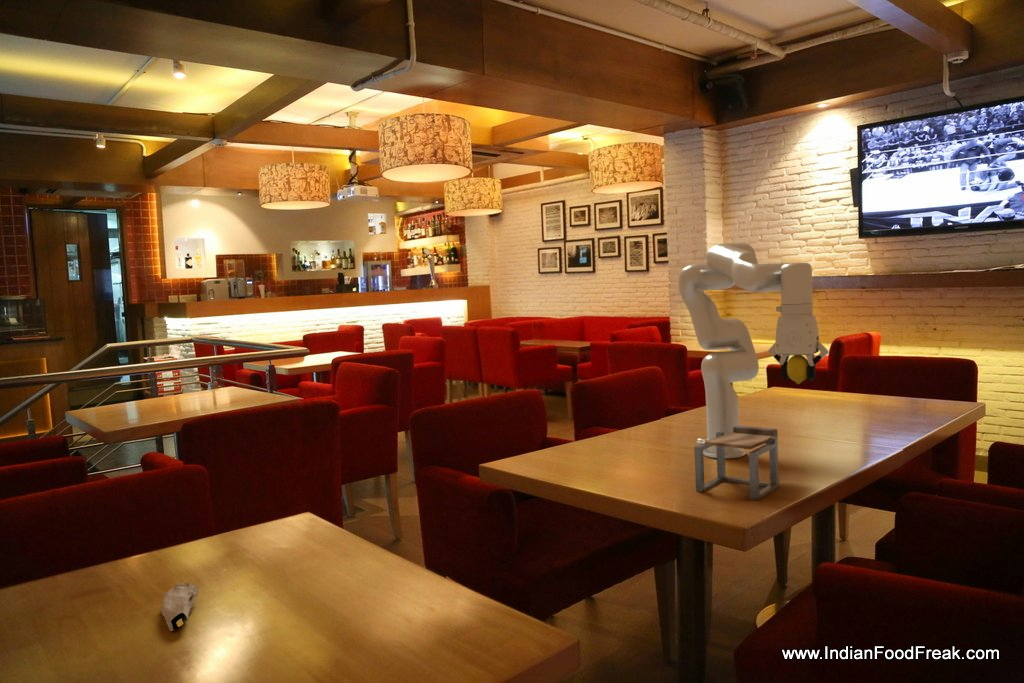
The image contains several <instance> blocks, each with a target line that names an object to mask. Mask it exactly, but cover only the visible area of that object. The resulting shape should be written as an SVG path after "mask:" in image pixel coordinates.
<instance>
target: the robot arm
mask: <svg viewBox="0 0 1024 683" xmlns="http://www.w3.org/2000/svg"><path fill="white" fill-rule="evenodd" d="M705 261H706V263H704V262H703V263H694V264H689V265H687V266H685V267H684V268H682V269H681V271H680V272H679V276H678V290H679V294H680V296H681V297H680V298H681V299H682V301H683V303H684V304H685V305H684V306H686V308H687V311H688V313H689V315H690V320H691V324H692V327H693V330H694V332H695V335H696V339H697V342H698V344H699V346H700V348H702V349H703V350H705V351H717V352H711V353H710V354H707V355H705V357H703V359H702V361H701V364H700V365H701V366H700V369H701V375H702V379H703V382H704V391H705V404H706V405H705V407H706V408H705V410H706V432H707V434H706V436H707V438H706V439H703V438H697V439H696V446H698V445H700V444H702V443H705V441H708V440H711V439H713V438H716V433H718V432H723V433H724V435H725V434H728V433H731V432H733V427H735V426H740V417H739V416H740V413H739V412H740V411H739V408H740V407H739V396H738V394H737V392H736V390H735V388H734V387H733V386H732V384H731V383H736V382H744V381H746V382H747V381H751V380H753V379H754V378H756V377H757V376H758V374H759V368H760V367H759V364H760V363H759V360H758V356H757V353H756V350H755V347H754V342H753V340H752V337H751V335H750V334H751V333H750V332H749V330H748V327H747V325H746V324H745V323H744V322H743V321H742V320H741V319H739V318H734V317H733V318H731V317H730V318H722V317H721V316H720V313H719V311H718V307H717V304H716V303H715V301H714V300H713V299H712V297H710V296H709V295H708V294H706V293H705V291H716V290H717V291H718V290H719V291H720V290H728V289H730V288H733V287H734V286H736V287H737V288H740V289H742V290H746V291H748V292H752V293H768V292H769V293H770V292H771V293H772V292H780V296H781V297H780V299H781V301H780V302H781V304H780V306H776V308H775V311H776V312H777V313H780V316H777V320H776V321H777V322H776V328H775V337H774V338H775V342H774V344H773V345H772V346H771V347H770V348H769V349H768V350H767V351H768V354H769V355H771V356H772V357H773V358H774V359H775V360H776V361H777V362H778V364H779V365H780V374H781V375H780V376H781V378H782V380H783V381H787V380H790V378H789V376H788V374H787V363H788V361H789V359H790V356H794V355H802V356H805V358H806V359H807V360H808V363H809V366H807V378H806V381H807V382H813V381H815V378H817V374H816V372H817V370H816V367H817V366H816V365H818V363H819V362H821V360H822V359H823V358H825V357H826V356H827V355H828V354H829V353H830V351H829V350H828V349H827V348H826V346H825V345H824V344H823V343H822V342H821V341H820V334H819V327H818V322H817V317H816V315H813V314H814V313H813V310H814V309H813V301H814V300H813V268H812V265H811V263H809V262H791V263H790V262H774V263H773V262H771V263H769V262H768V263H758V259H757V255H756V251H755V248H753V247H752V246H751V245H750V244H748V243H746V242H735V243H734V242H731V243H719V244H718V243H717V244H715V245H713V246H712V247H710V248H709V249H708V250H707V252H706V255H705ZM728 349H729V350H728ZM719 350H727V351H719ZM817 353H818V354H817ZM815 354H817V355H815ZM745 455H746V449H742V448H732V447H725V460H726V459H736V458H742V457H744V456H745ZM703 456H705V457H707V458H713V459H714V458H715V459H717V449H716V446H711V447H709V448H707V449H704V450H703Z"/></svg>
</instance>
